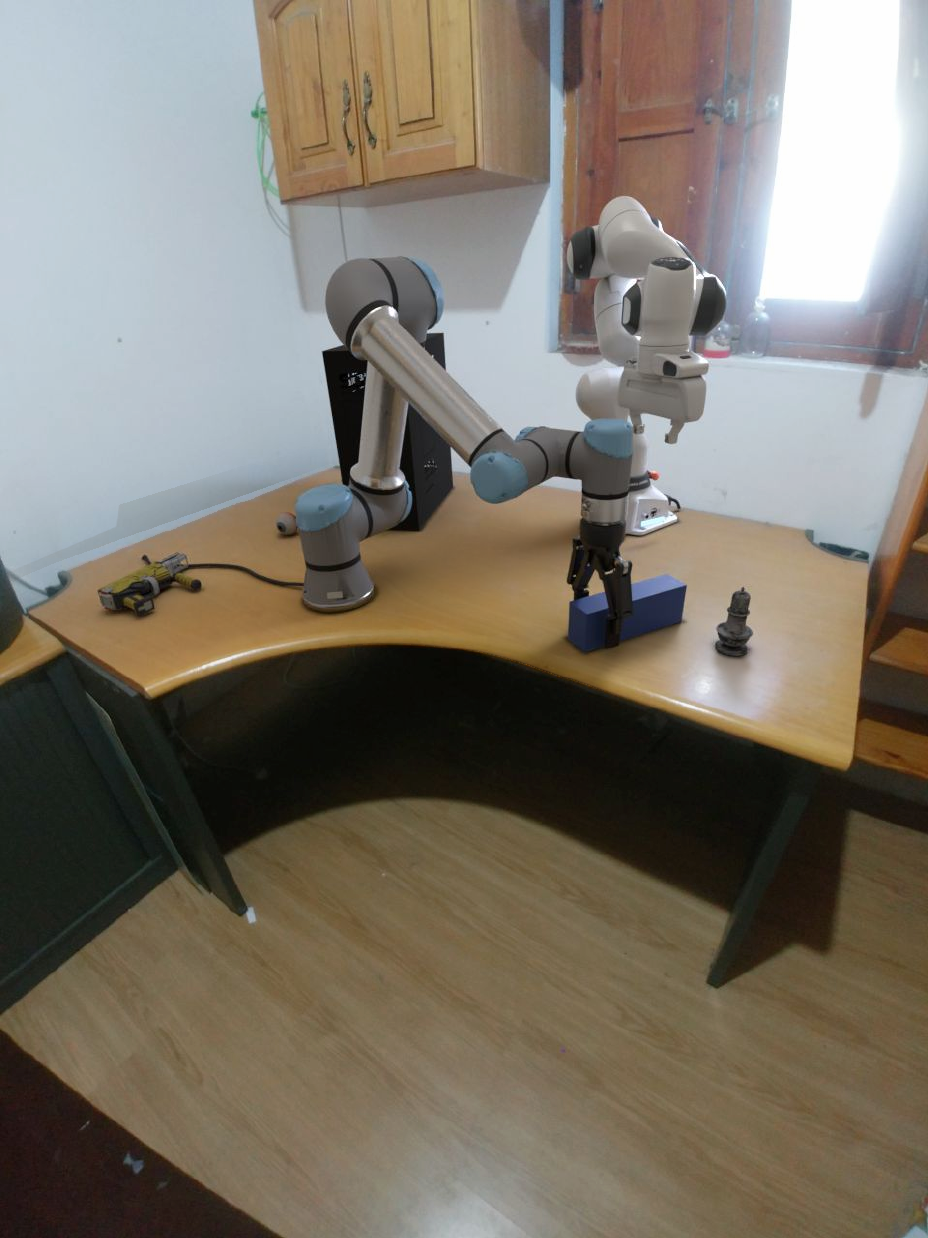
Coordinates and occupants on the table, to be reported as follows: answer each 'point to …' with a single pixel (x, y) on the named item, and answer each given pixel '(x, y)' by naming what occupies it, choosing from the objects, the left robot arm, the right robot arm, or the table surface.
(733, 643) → the chess piece
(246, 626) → the table surface
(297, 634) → the table surface
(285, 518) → the eyeball
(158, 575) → the toy gun
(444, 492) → the black tall block
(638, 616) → the bar
